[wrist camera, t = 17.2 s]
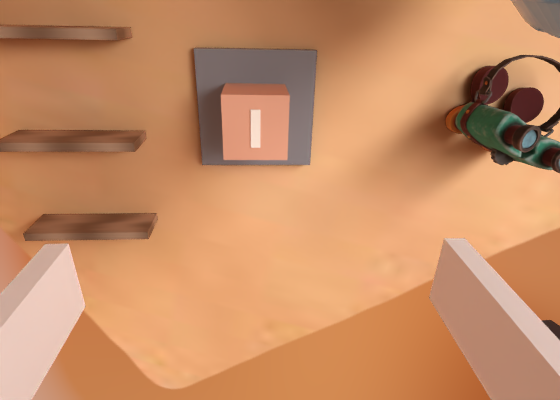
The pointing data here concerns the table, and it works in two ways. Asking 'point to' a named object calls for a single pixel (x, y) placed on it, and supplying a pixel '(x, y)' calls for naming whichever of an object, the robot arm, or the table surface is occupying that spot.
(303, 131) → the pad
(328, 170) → the table surface
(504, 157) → the binoculars
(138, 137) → the bay rack
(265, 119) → the letter cube
